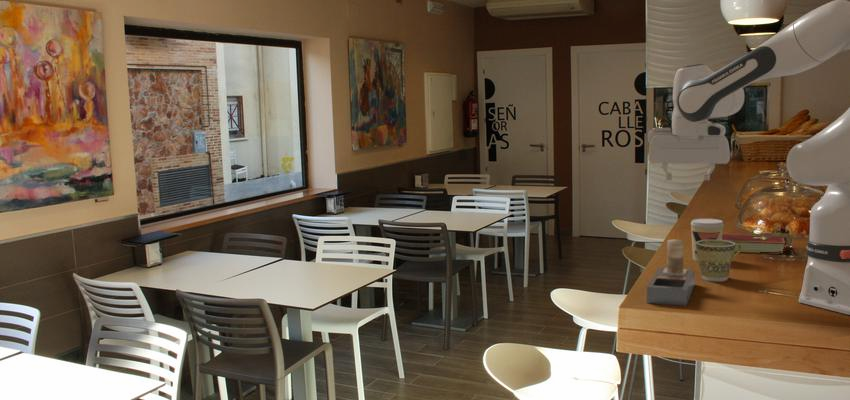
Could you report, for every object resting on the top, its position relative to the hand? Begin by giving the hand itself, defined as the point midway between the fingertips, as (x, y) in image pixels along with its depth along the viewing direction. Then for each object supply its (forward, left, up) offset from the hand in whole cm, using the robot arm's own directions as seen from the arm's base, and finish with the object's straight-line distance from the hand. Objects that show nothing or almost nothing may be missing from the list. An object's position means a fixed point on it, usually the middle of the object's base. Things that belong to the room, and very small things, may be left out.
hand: (687, 180), depth 202 cm
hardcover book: (+31, -44, -29) cm, 61 cm away
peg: (-3, +5, -24) cm, 24 cm away
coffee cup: (+22, -22, -28) cm, 42 cm away
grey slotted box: (-8, +10, -28) cm, 30 cm away
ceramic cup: (+1, -11, -28) cm, 30 cm away
